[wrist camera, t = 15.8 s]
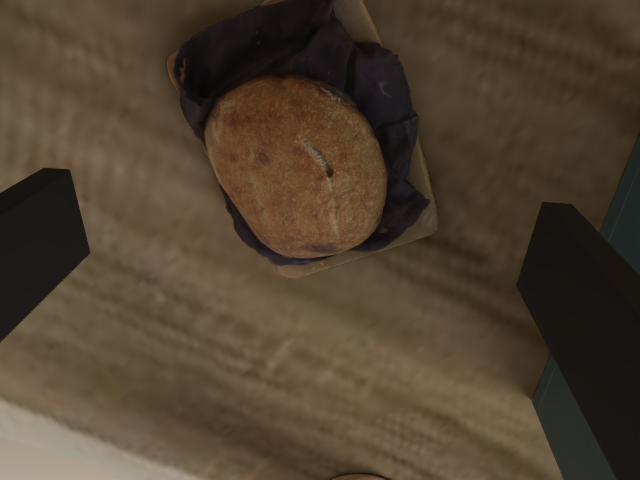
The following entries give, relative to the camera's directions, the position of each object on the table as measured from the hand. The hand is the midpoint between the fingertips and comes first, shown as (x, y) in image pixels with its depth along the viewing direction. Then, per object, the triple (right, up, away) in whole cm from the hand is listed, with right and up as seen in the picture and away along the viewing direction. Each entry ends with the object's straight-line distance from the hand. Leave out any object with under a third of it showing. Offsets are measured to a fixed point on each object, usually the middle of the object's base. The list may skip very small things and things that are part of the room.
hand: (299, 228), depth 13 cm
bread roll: (0, +3, +5) cm, 6 cm away
